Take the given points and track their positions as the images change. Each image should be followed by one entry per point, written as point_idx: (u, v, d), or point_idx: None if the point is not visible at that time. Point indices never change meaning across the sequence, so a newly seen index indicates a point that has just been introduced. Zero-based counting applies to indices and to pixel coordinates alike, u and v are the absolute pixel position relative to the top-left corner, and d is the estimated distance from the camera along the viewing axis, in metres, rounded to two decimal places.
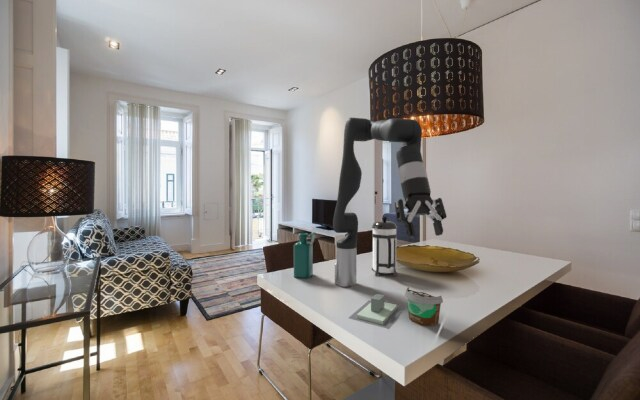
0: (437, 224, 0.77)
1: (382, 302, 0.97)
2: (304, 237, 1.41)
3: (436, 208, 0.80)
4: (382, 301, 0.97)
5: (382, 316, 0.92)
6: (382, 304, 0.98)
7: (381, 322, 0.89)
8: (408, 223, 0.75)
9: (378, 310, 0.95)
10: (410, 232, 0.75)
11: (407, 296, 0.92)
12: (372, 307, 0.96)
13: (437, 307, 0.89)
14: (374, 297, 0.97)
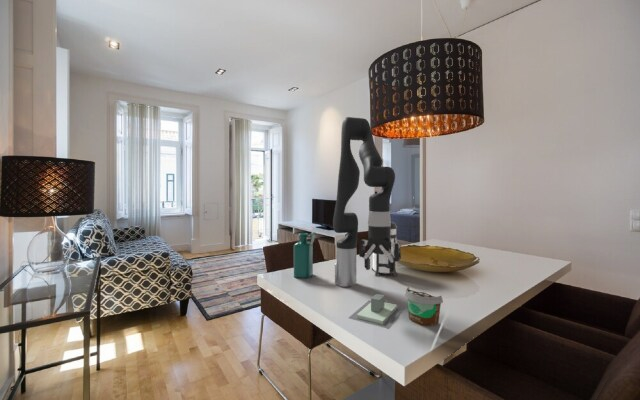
0: None
1: (382, 302, 0.97)
2: (304, 237, 1.41)
3: None
4: (382, 301, 0.97)
5: (382, 316, 0.92)
6: (382, 304, 0.98)
7: (381, 322, 0.89)
8: (365, 259, 0.99)
9: (378, 310, 0.95)
10: (365, 266, 0.99)
11: (407, 296, 0.92)
12: (372, 307, 0.96)
13: (437, 307, 0.89)
14: (374, 297, 0.97)
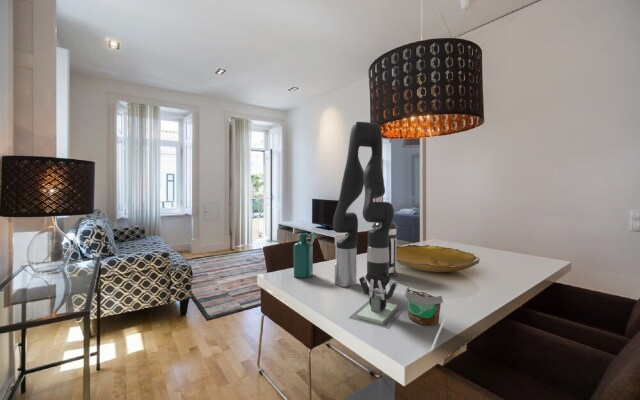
0: None
1: None
2: (304, 237, 1.41)
3: None
4: None
5: (382, 316, 0.92)
6: None
7: (381, 322, 0.89)
8: (370, 297, 0.98)
9: (378, 310, 0.95)
10: (370, 304, 0.98)
11: (407, 296, 0.92)
12: (372, 307, 0.96)
13: (437, 307, 0.89)
14: (374, 297, 0.97)
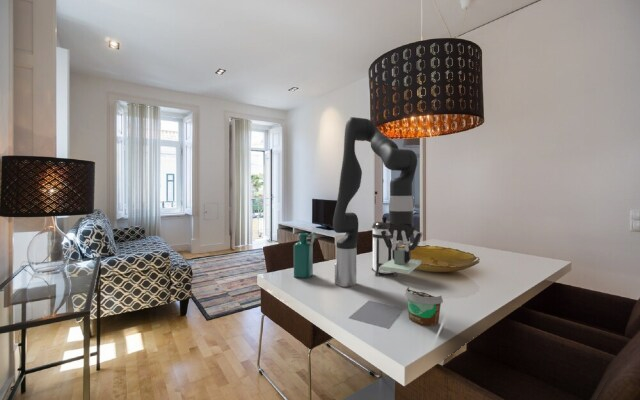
0: None
1: None
2: (304, 237, 1.41)
3: None
4: None
5: (407, 267, 0.87)
6: None
7: (407, 271, 0.84)
8: (393, 250, 0.93)
9: (402, 262, 0.90)
10: (393, 257, 0.93)
11: (407, 296, 0.92)
12: (395, 259, 0.91)
13: (437, 307, 0.89)
14: (397, 249, 0.92)
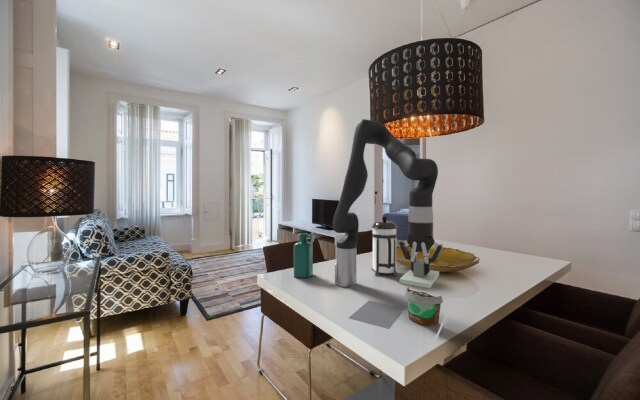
0: None
1: None
2: (304, 237, 1.41)
3: None
4: None
5: (428, 280, 0.85)
6: None
7: (428, 285, 0.82)
8: (411, 262, 0.91)
9: (422, 274, 0.88)
10: (412, 269, 0.91)
11: (407, 296, 0.92)
12: (415, 272, 0.89)
13: (437, 307, 0.89)
14: (417, 261, 0.90)
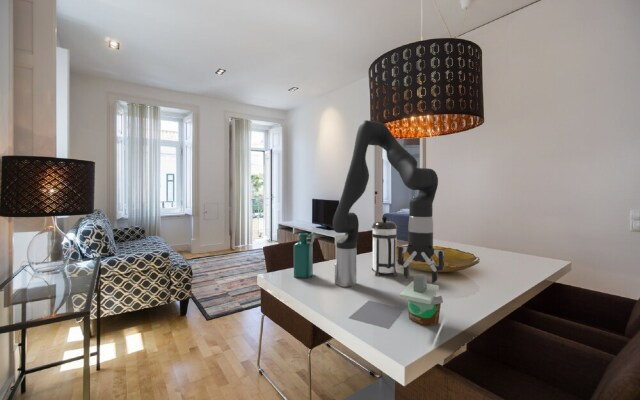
0: (432, 273, 0.88)
1: (425, 282, 0.90)
2: (304, 237, 1.41)
3: None
4: (425, 281, 0.90)
5: (428, 296, 0.85)
6: (425, 284, 0.91)
7: (428, 301, 0.82)
8: (404, 267, 0.93)
9: (422, 290, 0.88)
10: (404, 274, 0.93)
11: None
12: (415, 287, 0.89)
13: (437, 307, 0.89)
14: (417, 276, 0.90)
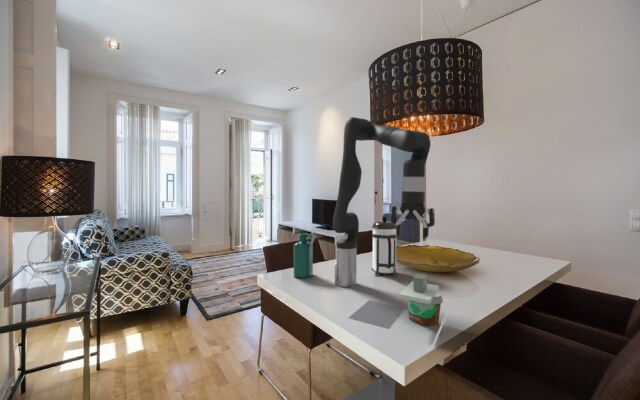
0: None
1: (425, 282, 0.90)
2: (304, 237, 1.41)
3: None
4: (425, 281, 0.90)
5: (427, 296, 0.85)
6: (425, 284, 0.91)
7: (428, 301, 0.82)
8: (397, 225, 0.99)
9: (422, 290, 0.88)
10: (397, 232, 0.99)
11: None
12: (415, 287, 0.89)
13: (437, 307, 0.89)
14: (416, 276, 0.90)
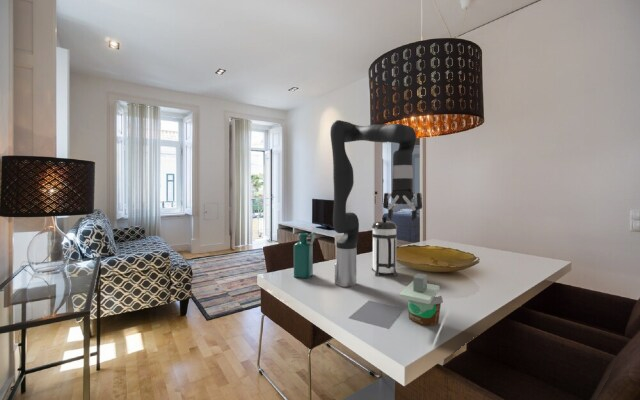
0: None
1: (425, 282, 0.90)
2: (304, 237, 1.41)
3: None
4: (425, 280, 0.90)
5: (427, 295, 0.85)
6: (425, 284, 0.91)
7: (428, 301, 0.82)
8: (389, 210, 1.09)
9: (422, 290, 0.88)
10: (389, 216, 1.09)
11: None
12: (415, 287, 0.89)
13: (437, 307, 0.89)
14: (416, 276, 0.90)
